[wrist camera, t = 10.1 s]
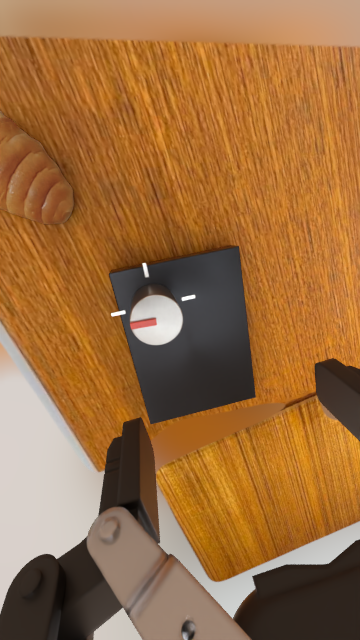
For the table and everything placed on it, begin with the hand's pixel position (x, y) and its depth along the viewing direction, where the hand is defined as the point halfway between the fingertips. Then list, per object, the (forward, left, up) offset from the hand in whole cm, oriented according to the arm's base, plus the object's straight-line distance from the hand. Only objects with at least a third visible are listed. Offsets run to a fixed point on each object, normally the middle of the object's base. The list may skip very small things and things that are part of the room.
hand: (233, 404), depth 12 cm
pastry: (-15, -12, -19) cm, 27 cm away
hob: (+4, 0, -19) cm, 19 cm away
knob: (-1, -3, -16) cm, 17 cm away
